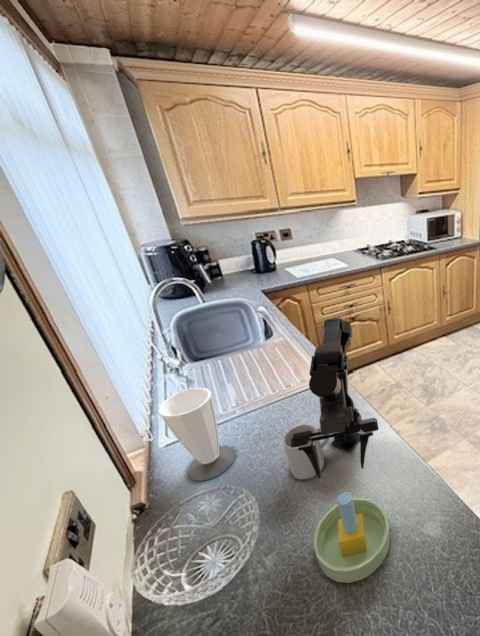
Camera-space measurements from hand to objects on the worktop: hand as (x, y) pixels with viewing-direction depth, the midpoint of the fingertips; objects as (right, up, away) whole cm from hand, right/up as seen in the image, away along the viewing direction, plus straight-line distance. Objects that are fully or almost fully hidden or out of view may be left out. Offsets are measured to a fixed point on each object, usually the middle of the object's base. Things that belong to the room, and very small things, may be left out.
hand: (341, 473), depth 76 cm
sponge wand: (+3, -14, -2) cm, 14 cm away
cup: (-40, -6, +20) cm, 45 cm away
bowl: (+3, -14, -2) cm, 15 cm away
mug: (-12, -5, +19) cm, 23 cm away
